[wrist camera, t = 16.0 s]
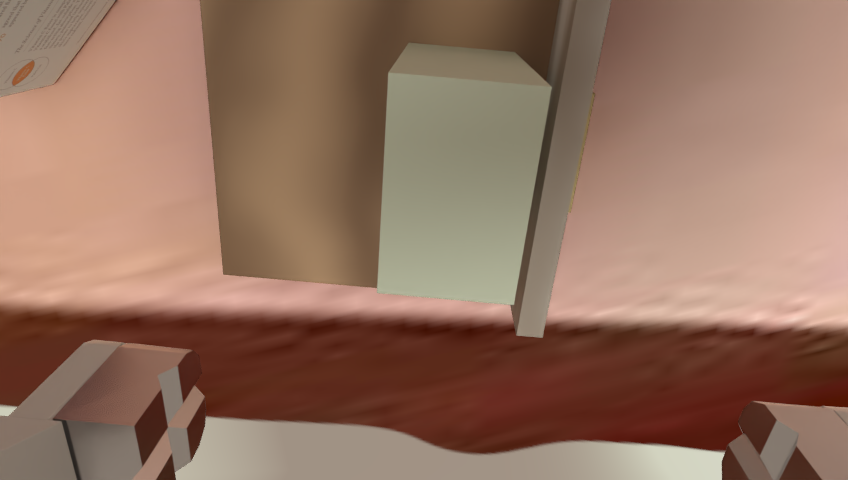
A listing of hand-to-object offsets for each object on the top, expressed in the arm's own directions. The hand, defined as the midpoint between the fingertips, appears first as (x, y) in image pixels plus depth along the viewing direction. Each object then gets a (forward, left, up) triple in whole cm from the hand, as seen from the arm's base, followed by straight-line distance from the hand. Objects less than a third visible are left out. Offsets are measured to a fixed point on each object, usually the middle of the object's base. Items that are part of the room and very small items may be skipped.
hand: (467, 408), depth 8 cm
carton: (0, 0, -18) cm, 18 cm away
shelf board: (+3, 0, -20) cm, 20 cm away
